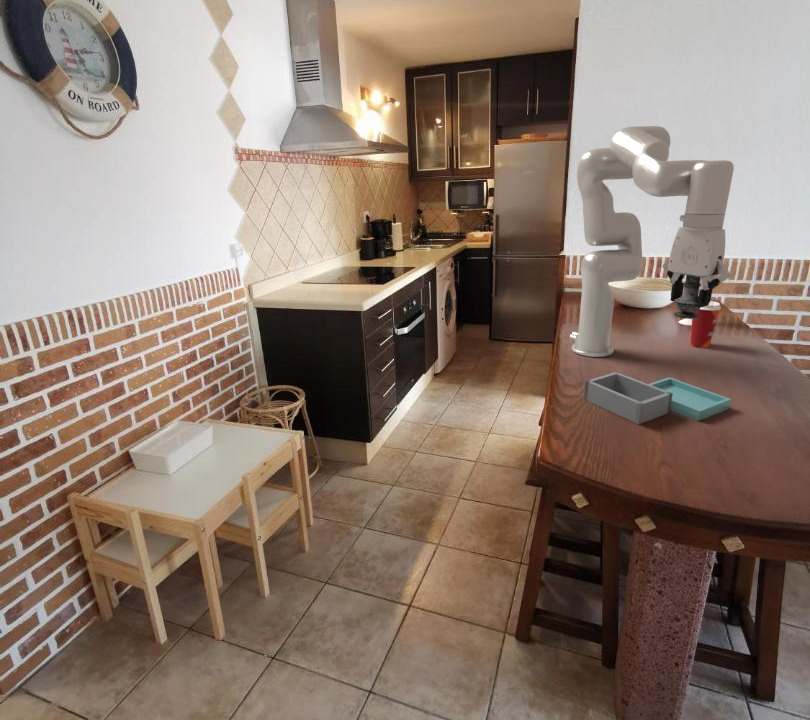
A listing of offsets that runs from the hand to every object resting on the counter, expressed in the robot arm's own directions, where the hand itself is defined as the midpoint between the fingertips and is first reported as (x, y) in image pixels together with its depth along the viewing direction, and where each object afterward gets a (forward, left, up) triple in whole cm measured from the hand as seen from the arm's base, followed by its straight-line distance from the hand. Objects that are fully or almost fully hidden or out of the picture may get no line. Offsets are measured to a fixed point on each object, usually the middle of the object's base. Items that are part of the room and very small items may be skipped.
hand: (689, 302), depth 114 cm
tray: (+1, +2, -25) cm, 25 cm away
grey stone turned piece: (0, 0, -3) cm, 3 cm away
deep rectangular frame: (-5, -11, -25) cm, 28 cm away
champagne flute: (-39, +65, -26) cm, 80 cm away
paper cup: (-22, +45, -26) cm, 56 cm away
